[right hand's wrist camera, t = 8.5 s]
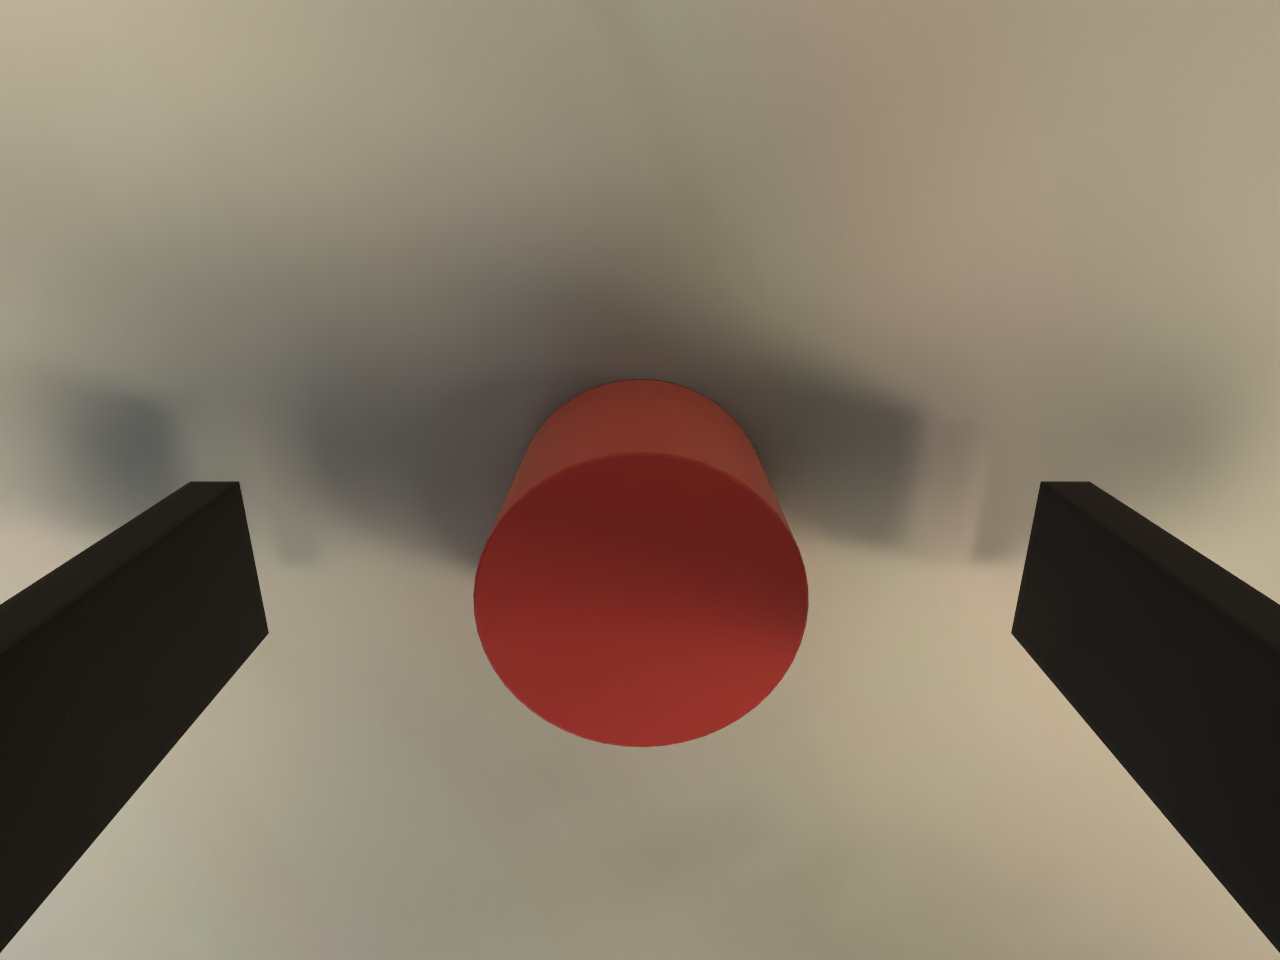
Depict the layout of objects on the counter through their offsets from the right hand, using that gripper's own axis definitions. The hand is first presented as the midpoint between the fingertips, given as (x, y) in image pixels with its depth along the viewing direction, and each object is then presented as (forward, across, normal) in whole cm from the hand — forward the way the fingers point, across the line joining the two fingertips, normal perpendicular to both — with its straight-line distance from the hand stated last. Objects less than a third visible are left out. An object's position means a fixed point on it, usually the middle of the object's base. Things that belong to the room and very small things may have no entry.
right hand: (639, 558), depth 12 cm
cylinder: (+2, 0, 0) cm, 2 cm away
